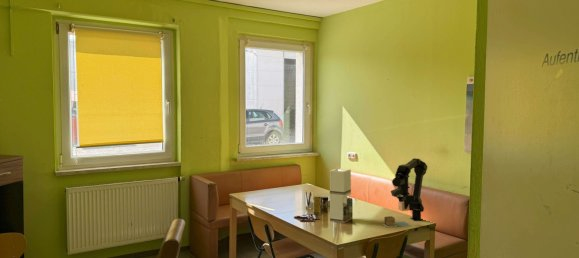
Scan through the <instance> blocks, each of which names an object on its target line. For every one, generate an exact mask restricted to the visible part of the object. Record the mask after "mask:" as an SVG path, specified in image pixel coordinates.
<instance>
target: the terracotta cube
mask: <svg viewBox="0 0 579 258" xmlns="http://www.w3.org/2000/svg"><path fill="white" fill-rule="evenodd" d="M397 209H398V210H399V211H402V212H408V211H410V210H409V205H408V207H407V209H405V208H404V201H403V202H399V201H398V208H397Z"/></svg>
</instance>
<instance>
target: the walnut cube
mask: <svg viewBox="0 0 579 258" xmlns="http://www.w3.org/2000/svg"><path fill="white" fill-rule="evenodd" d="M383 221H384V222H383V223H384V224H385V225H386V226H395V222H396V218H395V217H394V216H392V215H391V216H390V215H389V216H384V220H383Z"/></svg>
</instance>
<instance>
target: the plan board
mask: <svg viewBox="0 0 579 258" xmlns="http://www.w3.org/2000/svg"><path fill="white" fill-rule="evenodd" d="M379 224H380V225H382V226H383V227H385V228H386V229H389V228H402V227H405V228H406V227H411V226H412V225H411V224H409V223H407V222H406V221H395V226H386V225H385V224H384V222H380V223H379Z"/></svg>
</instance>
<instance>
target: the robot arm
mask: <svg viewBox="0 0 579 258" xmlns="http://www.w3.org/2000/svg"><path fill="white" fill-rule="evenodd" d="M412 170H413V172H414V174H415V178H414V184H413V185H414V186H413V192H412V194H411V193H410V192H409V189H410V186H409V178H410V173H411V172H412ZM427 170H428V164H427V163H426V162H424V161H423V160H421V158H415V157H414V158H412V159H411V160H409V161H408V162H407V163H405V164H399V165H398V167H397V168H396V171H395V175H394V178H393V179H392V181H391V182H392V185H393V186H394V187H397V188H395V189H393V190H390V194H391V196H392V197H394V198H396V199H398V202H403V201H404V208H405V209H407V207H408V205H409V211H411V217H410V218H409V219H411V220H412V221H424V220H423V218H422V213H423V212H424V211H425V206H424V205H423V201H422V198H421V193H422V192H421V191H422V186H423V179H424V176H425V174H427Z"/></svg>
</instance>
